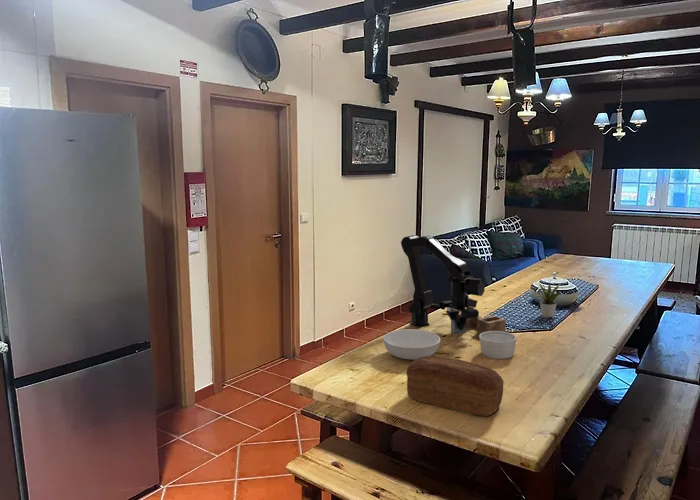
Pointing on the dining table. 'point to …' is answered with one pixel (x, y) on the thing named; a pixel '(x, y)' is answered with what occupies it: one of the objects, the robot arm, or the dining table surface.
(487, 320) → the wooden hollow frame
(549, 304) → the house plant
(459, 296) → the robot arm
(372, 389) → the dining table surface
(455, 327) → the tall grey upright block
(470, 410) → the bread
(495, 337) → the ramekin
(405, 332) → the serving bowl
